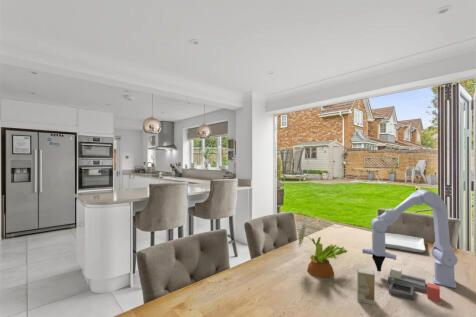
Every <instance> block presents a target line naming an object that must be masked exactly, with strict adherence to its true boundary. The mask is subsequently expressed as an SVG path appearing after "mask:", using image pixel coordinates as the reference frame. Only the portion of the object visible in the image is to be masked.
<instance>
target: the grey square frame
mask: <svg viewBox="0 0 476 317" xmlns="http://www.w3.org/2000/svg"><path fill="white" fill-rule="evenodd" d="M394 288H396V289H394ZM398 289H399V290H398ZM401 290H403V291H401ZM405 291H406V292H405ZM409 292H410V293H409ZM388 294H389V295H392V296H396V297H400V298H404V299H408V300H410V301H413V300H414V296H415V290H414V287H412V286H408V285H404V284H400V283H396V282H392V281H391V284H389V286H388Z"/></svg>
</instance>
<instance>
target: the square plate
mask: <svg viewBox="0 0 476 317" xmlns="http://www.w3.org/2000/svg"><path fill="white" fill-rule="evenodd" d="M385 248H388V249H389V248H390V249H393V250H401V251H407V252H412V253H413V252H415V253H424V252H426V250H427V249H426V246H425V239H424V238H423V237H417V236H412V235H411V236H410V235H405V234H397V233H390V232H389V233H388V232H385Z"/></svg>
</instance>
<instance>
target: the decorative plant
mask: <svg viewBox="0 0 476 317" xmlns="http://www.w3.org/2000/svg"><path fill="white" fill-rule="evenodd" d="M301 227H302V228H301V230H300V231H299V233H298V244H297V245H299V246H298V247H302V244H303V242H304V241H303V240H304V237H307V238H308V239H310V240H311V242H312V243H313V244H314V245H315V254H311V256H310V257H309V258H310V260H311V261H310V262H309V263H308V266H307V269H306V272H307V273H308V275H311V276H313V277H316V278H321V279H324V278H325V279H326V278H327V279H328V278H332V277H333V276H334V275H335V273H334V272H335V271H334V268H333V266H332V265H331V263H330V260H329V258H330V259H335V260H336V259H338V257H337V256H339V255H342V254H346V253H347V252H348V250H346V249H345V248H344V247H345V246H342V247H339V246H337V245H336V244H329V245H328V246H327V247H325V248H324V249H323V244H322V243H321V236H319V237H318V238H317V240H316V241H315V239H314V238H310V237H309V236H307V235H305V231H306V223H303V225H302V226H301Z"/></svg>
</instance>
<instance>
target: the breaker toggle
mask: <svg viewBox="0 0 476 317" xmlns="http://www.w3.org/2000/svg"><path fill="white" fill-rule="evenodd" d="M402 270H403V269H402V268H400V267H396V266H391V267H390V271H391V277H395V278H399V279H401V278H402V274H403V271H402Z"/></svg>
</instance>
